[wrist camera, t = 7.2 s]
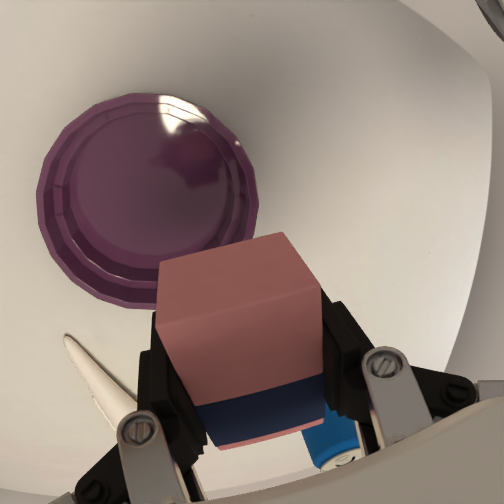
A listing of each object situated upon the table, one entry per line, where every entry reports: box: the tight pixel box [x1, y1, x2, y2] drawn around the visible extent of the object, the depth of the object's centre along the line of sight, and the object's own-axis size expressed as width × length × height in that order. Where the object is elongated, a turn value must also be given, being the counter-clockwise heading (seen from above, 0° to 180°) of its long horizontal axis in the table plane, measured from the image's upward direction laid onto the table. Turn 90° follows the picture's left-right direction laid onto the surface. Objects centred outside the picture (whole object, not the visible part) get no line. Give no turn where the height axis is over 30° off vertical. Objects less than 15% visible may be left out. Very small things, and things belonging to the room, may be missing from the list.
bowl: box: [36, 93, 259, 310], centre depth 22 cm, size 15×15×4 cm
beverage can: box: [301, 403, 363, 473], centre depth 33 cm, size 6×6×12 cm
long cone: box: [63, 336, 137, 434], centre depth 31 cm, size 6×6×19 cm
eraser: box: [155, 232, 326, 450], centre depth 10 cm, size 6×4×3 cm, turn 9°
